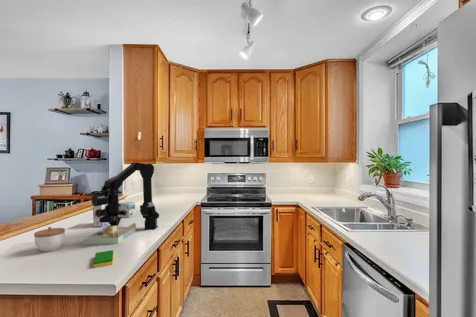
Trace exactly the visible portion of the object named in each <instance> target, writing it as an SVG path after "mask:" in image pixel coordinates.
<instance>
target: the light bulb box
mask: <svg viewBox="0 0 476 317" xmlns="http://www.w3.org/2000/svg"><path fill="white" fill-rule="evenodd" d="M119 204H120V206H119V210H125V211H126V215H124V216H123V215H118V216H119V217H122V218H127V217H128V219H129V218H133V217H136V216H137V215H136V213H137V212H136V202H135V201H122V202H119Z"/></svg>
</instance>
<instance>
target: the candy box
mask: <svg viewBox="0 0 476 317" xmlns="http://www.w3.org/2000/svg"><path fill="white" fill-rule="evenodd" d="M106 205H107V204H105V205H99V206H94V205H93V204H92V216H93V218H92V220H93V228H104V227H106V226H108V225H110V223H108V222H103V223H100V221H99V219H100V218H101V217H102V216H100V217H99V218H98V216H96V215H95V214H96V210H98V209H101V210H103V209H105V206H106ZM104 216H105V215H104Z"/></svg>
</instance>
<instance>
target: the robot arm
mask: <svg viewBox="0 0 476 317" xmlns="http://www.w3.org/2000/svg"><path fill="white" fill-rule="evenodd" d="M136 171H138V172H139V174H140V176H141V178H142V188H143V190H142V192H143V202H142V204H140V205H139V208H140V209H139V212H140V215H141V216H142V218H143V219H144V230H156V229H157V228H158V227H159V226H158V219H159V218H160V214H159V213H158V212H157V211H156V206H155V204H154V203H153V190H152V188H153V186H152V178H153V176H154V174H155V173H154V172H155V166H154V165H153V164H152V163H143V162H139V161H138V162H136V161H135V162H134V161H133V162H132V163H130V164H129V165H128V166H127V167H126V168H124V169H123V170H122V171H121V172H120V173H118V174H117V175H115V176H112V177H111V178H108V179H106V180H105V181H104V184H103V187H102V188H101V190H100V191H99V192H93V195H92V197H91V204H92V206H93V205H94V206H99V205H105V204H107V205H106V206H105V209H103V210H101V209H98V210H96V214H95V215H96V216H98V218H99V217H100V216H102V217H101V218H100V219H99V221H100V223H103V222H108V223H109V226H117V227H119V224H120V222H121V220H122V218H123V217H119V215H123V216H124V215H126V211H125V210H119V206H120V204H119V203H120V200H119V194H121V195H122V194H123V192H122V191H121V190H120V188H121V187H122V185H123V184H124V182H125V181H126V180H127V179H128V178H129V177H130V176H131V175H133V174H134V173H135V172H136ZM104 215H105V216H104Z"/></svg>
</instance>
